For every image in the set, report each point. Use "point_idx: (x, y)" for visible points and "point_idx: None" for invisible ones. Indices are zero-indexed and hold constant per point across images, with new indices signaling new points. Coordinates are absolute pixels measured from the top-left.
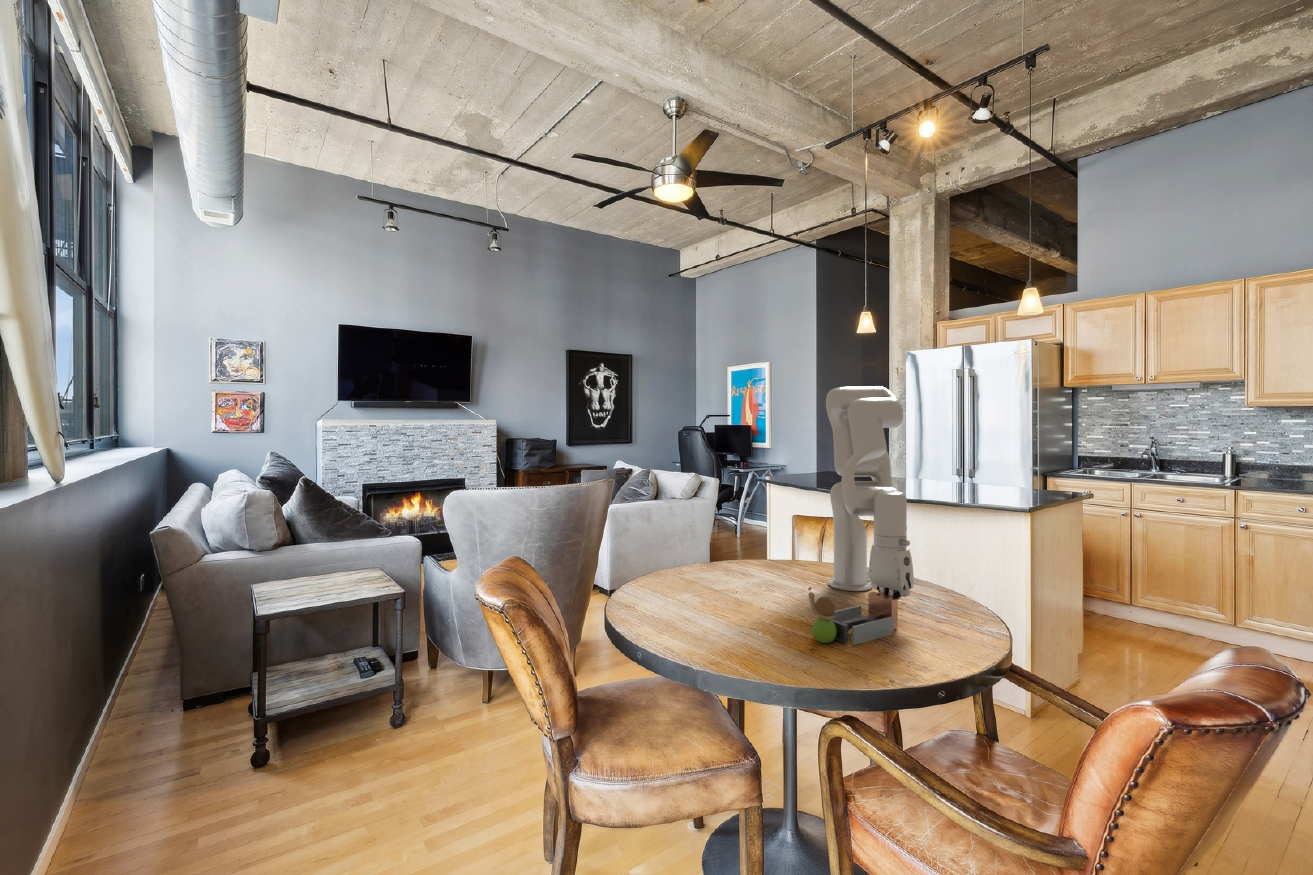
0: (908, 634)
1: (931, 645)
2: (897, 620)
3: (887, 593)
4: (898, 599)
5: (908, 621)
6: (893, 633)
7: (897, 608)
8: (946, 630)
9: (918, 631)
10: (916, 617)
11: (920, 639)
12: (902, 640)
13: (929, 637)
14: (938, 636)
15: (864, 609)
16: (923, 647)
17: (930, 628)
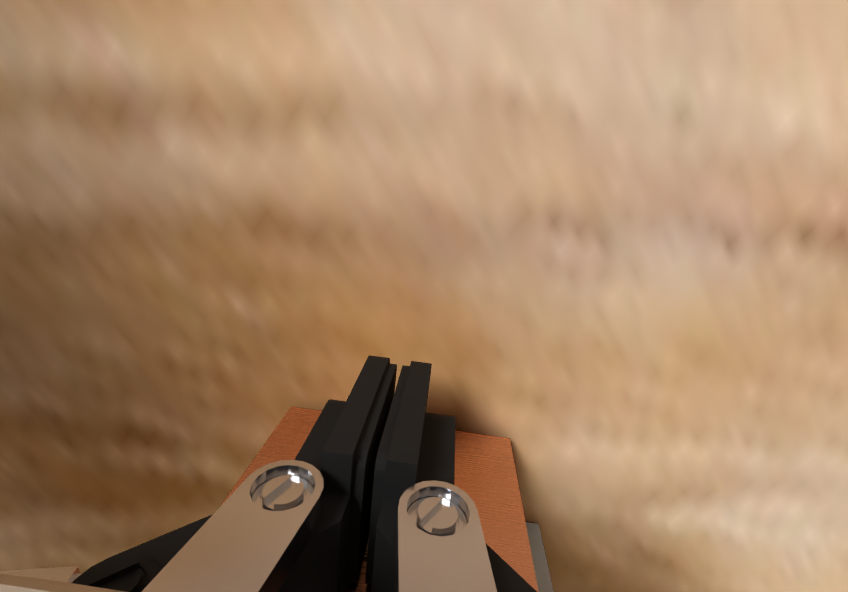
0: (616, 464)
1: (824, 529)
2: (516, 477)
3: (285, 579)
4: (466, 509)
5: (471, 210)
6: (538, 526)
7: (535, 577)
8: (831, 153)
9: (644, 362)
10: (460, 34)
11: (722, 488)
12: (636, 574)
13: (761, 413)
14: (813, 345)
15: (69, 233)
16: (790, 586)
17: (692, 222)
